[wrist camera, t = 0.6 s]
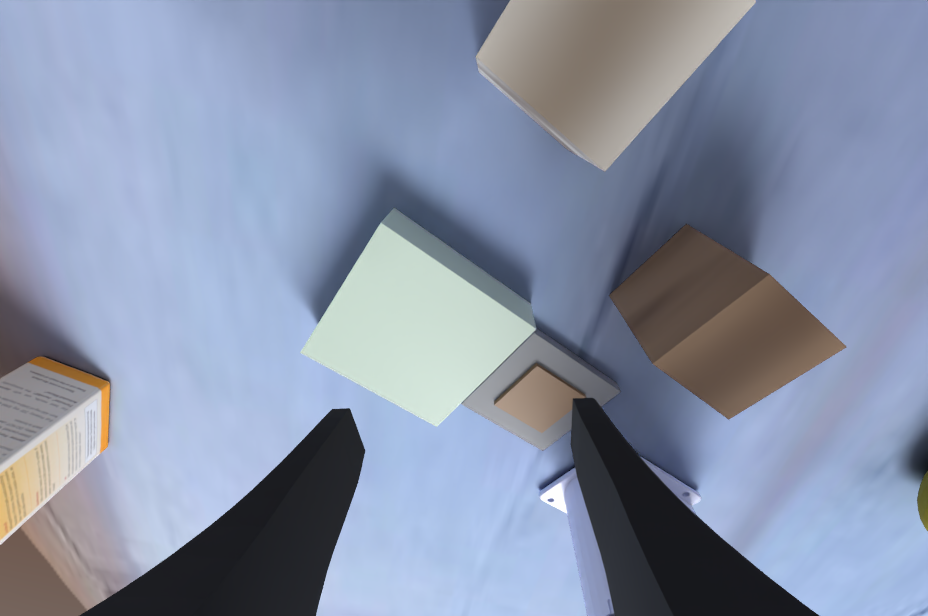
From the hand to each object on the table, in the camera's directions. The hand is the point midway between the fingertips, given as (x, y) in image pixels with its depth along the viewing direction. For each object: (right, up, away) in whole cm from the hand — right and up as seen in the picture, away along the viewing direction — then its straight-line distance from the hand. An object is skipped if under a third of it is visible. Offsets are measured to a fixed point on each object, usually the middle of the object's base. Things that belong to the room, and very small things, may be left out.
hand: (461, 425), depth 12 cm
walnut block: (+12, +5, +8) cm, 15 cm away
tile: (+5, -1, +12) cm, 13 cm away
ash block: (+4, +14, +3) cm, 15 cm away
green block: (-2, +4, +10) cm, 11 cm away
